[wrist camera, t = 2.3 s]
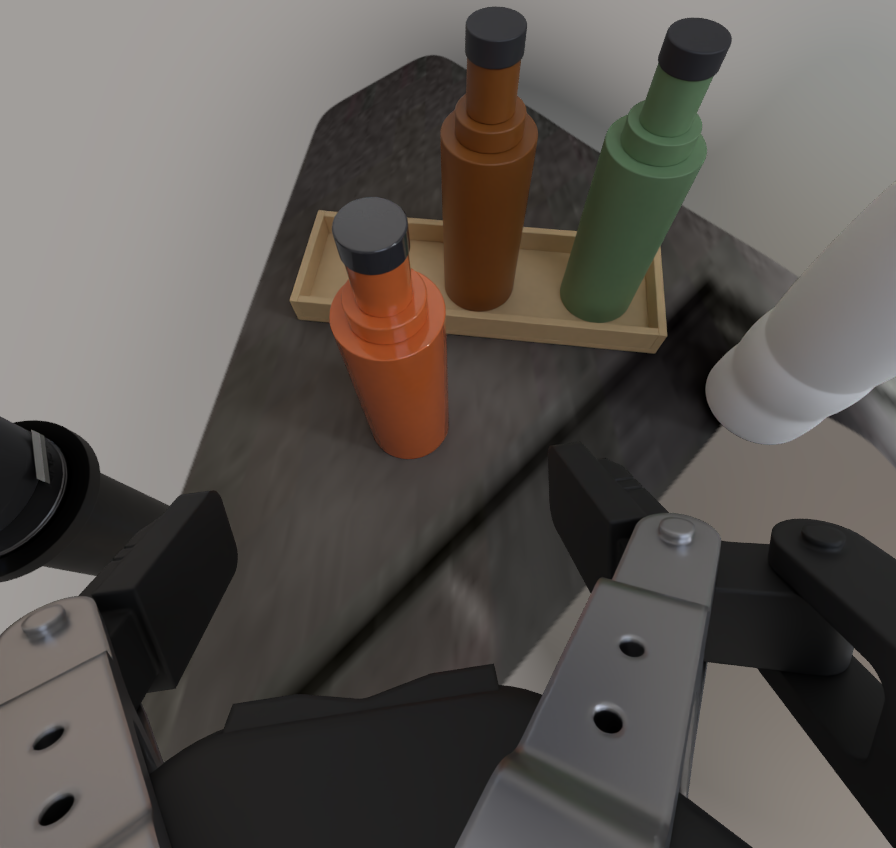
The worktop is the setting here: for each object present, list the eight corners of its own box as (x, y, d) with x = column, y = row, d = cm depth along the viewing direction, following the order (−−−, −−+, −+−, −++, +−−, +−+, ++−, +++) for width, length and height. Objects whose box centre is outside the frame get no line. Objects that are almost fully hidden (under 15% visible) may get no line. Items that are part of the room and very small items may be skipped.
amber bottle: (465, 322, 36) (473, 72, 20) (432, 273, 38) (417, 10, 22) (526, 295, 37) (579, 36, 21) (491, 249, 39) (516, -20, 23)
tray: (298, 319, 37) (288, 300, 35) (325, 232, 41) (318, 210, 39) (655, 353, 36) (667, 336, 34) (649, 259, 39) (660, 237, 37)
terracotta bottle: (391, 472, 32) (329, 304, 16) (359, 408, 34) (274, 202, 18) (462, 437, 33) (469, 245, 17) (427, 377, 35) (403, 155, 19)
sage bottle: (585, 334, 36) (691, 85, 20) (546, 283, 38) (613, 21, 22) (644, 306, 37) (790, 48, 21) (602, 258, 39) (707, -11, 23)
